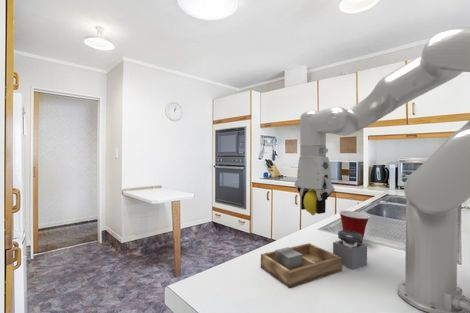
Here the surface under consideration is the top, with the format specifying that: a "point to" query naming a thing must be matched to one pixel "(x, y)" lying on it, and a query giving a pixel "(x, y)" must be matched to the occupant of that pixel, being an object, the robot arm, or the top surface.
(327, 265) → the caddy
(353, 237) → the plunger
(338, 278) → the top surface
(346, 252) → the mount
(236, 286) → the top surface
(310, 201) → the lemon
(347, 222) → the plastic cup
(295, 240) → the top surface
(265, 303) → the top surface
